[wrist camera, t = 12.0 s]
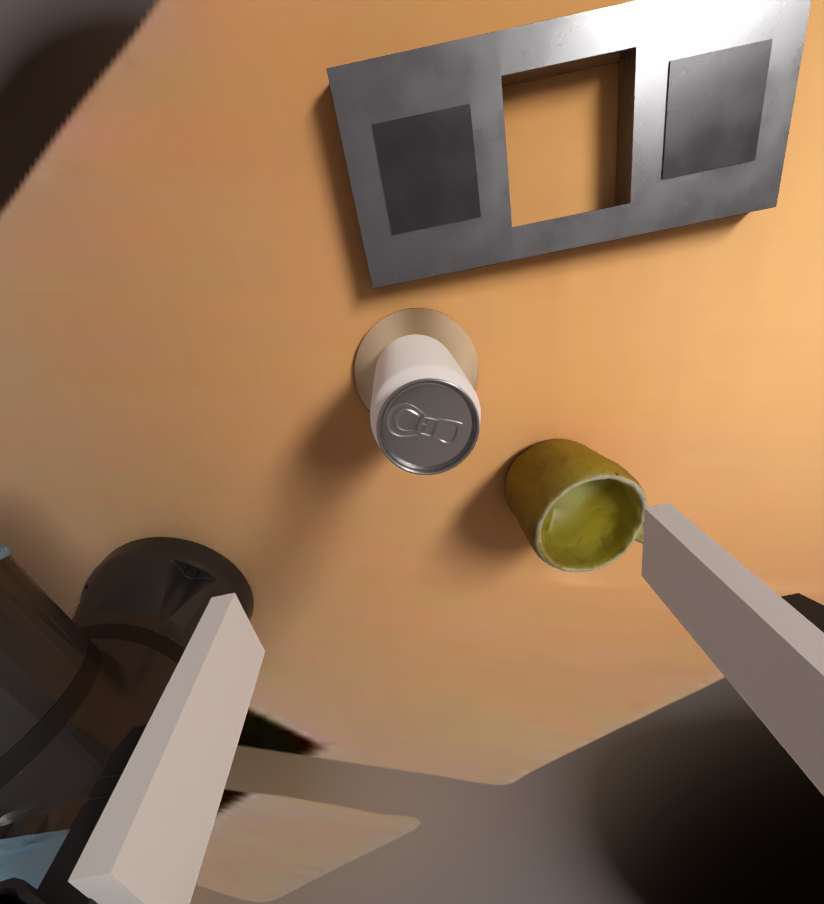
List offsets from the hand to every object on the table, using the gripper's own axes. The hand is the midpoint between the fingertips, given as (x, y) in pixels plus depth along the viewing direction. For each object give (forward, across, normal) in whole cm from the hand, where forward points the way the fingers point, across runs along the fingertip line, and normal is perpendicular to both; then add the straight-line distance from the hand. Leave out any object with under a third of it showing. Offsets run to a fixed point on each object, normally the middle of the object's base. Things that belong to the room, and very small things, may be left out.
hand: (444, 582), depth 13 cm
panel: (+23, +13, +14) cm, 30 cm away
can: (+23, +1, +1) cm, 23 cm away
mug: (+23, +13, -12) cm, 29 cm away
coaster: (+23, +1, +1) cm, 23 cm away
